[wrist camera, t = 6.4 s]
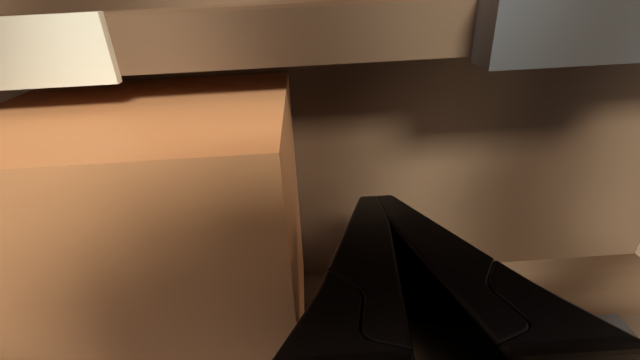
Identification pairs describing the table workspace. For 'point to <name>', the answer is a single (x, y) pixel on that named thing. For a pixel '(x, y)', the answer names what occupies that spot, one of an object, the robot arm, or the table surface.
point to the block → (150, 221)
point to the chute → (407, 113)
